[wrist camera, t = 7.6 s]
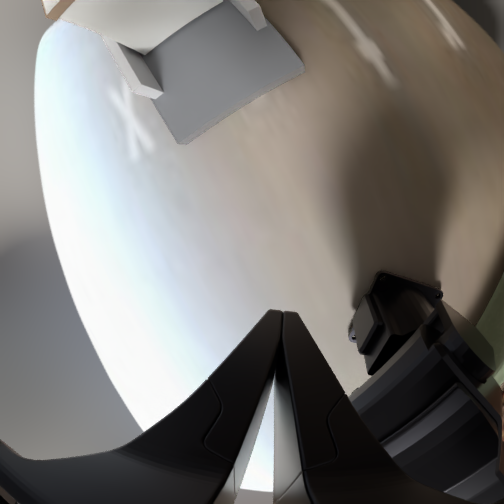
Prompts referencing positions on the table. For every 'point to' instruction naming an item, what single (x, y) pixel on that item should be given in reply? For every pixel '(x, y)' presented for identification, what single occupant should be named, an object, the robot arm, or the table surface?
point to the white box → (129, 18)
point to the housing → (209, 67)
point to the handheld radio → (495, 329)
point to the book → (503, 416)
